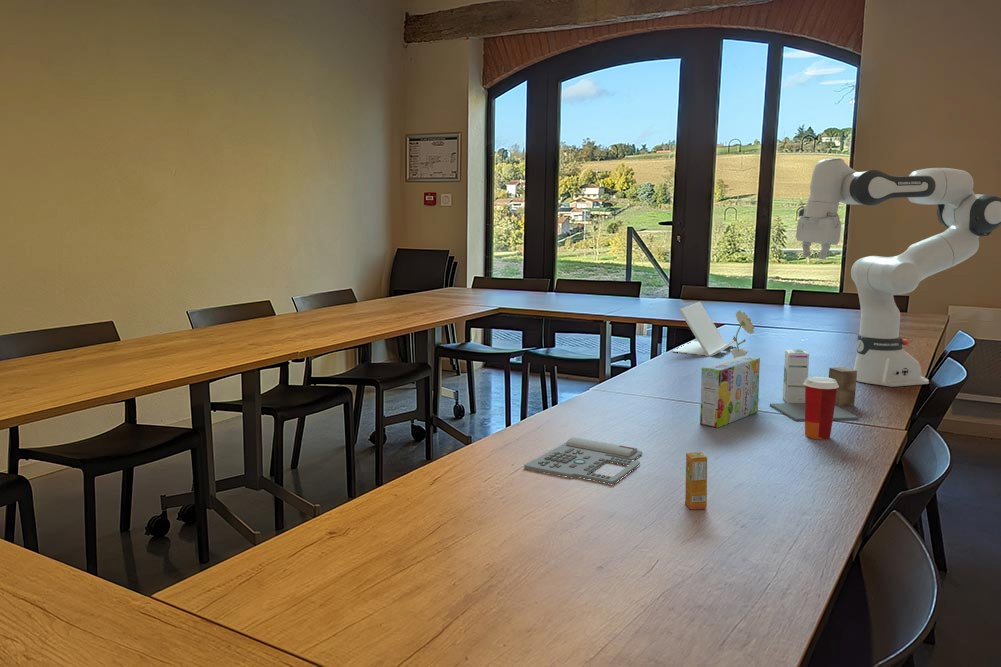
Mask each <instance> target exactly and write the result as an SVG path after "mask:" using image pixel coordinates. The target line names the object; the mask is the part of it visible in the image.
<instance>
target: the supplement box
mask: <svg viewBox="0 0 1001 667" xmlns="http://www.w3.org/2000/svg"><path fill="white" fill-rule="evenodd" d="M685 457H686V458H685V495H684V498H685V502H684V504H685V505H686V506H687V507H688V509H689V508H690V509H698V510H707V506H708V505H707V501H708V500H707V499H708V498H707V497H708V457H707V456H706V455H704V453H703V452H702V451H697V452H686V453H685ZM690 509H689V510H690Z"/></svg>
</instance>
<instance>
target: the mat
mask: <svg viewBox="0 0 1001 667" xmlns="http://www.w3.org/2000/svg"><path fill="white" fill-rule="evenodd" d="M769 406H770V407H771V406H772V408H773V409H774V408H775V410H776V409H777V410H776V411H778V412H779V411H780V412H779V413H781V412H782V413H781V414H783V415H784V414H785V415H784V416H786V415H787V416H786V417H788V418H789V417H790V419H791V418H792V421H795V422H801V421H803V422H805V403H786V402H784V403H782V402H781V403H780V402H779V403H778V402H776V403H775V402H774V403H769ZM842 420H843V421H846V420H847V421H849V420H854V421H855V420H859V416H857V415H855V414H853V413H851V412H849V411H847V410H845V409H843V408H842V407H837V406H835V408H834V415H833V421H842Z"/></svg>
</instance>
